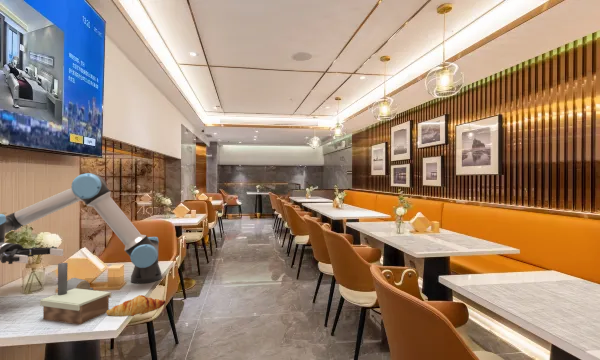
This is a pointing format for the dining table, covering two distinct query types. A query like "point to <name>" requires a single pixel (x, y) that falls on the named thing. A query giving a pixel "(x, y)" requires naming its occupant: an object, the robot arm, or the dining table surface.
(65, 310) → the brown wooden box
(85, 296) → the lid
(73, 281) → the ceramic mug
